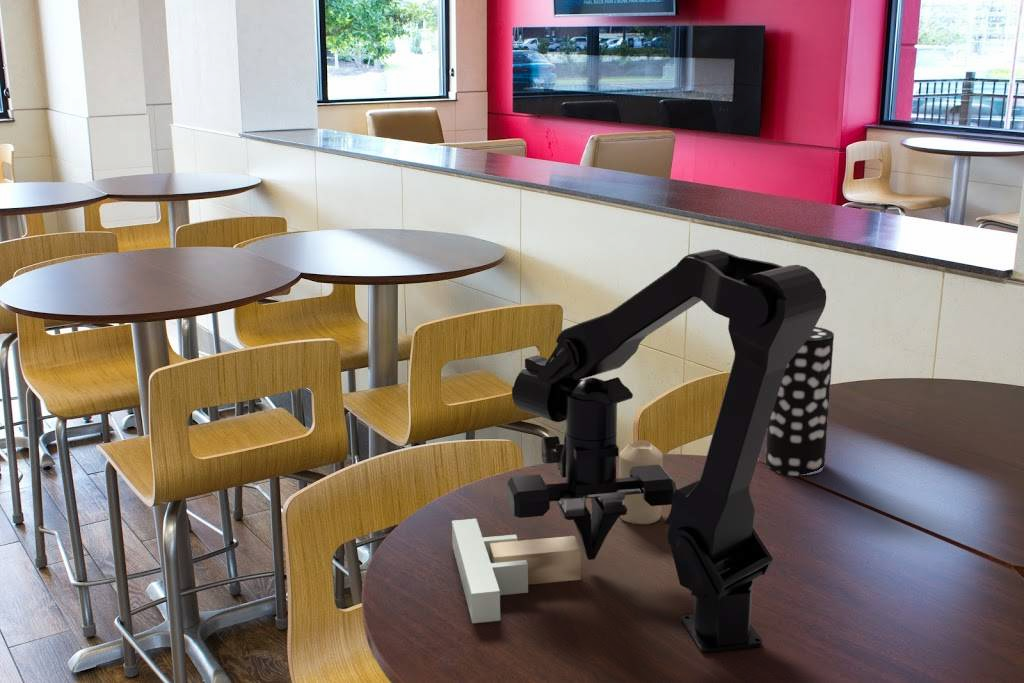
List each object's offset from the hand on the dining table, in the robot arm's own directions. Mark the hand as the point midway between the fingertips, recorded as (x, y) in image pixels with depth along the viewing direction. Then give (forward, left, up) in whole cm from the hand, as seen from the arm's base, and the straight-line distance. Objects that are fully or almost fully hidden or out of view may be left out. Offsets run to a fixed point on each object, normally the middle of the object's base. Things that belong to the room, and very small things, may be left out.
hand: (590, 558), depth 118 cm
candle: (+13, -10, -2) cm, 16 cm away
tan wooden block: (0, +7, -2) cm, 7 cm away
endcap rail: (0, +12, -2) cm, 12 cm away
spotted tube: (+25, -37, -2) cm, 45 cm away
